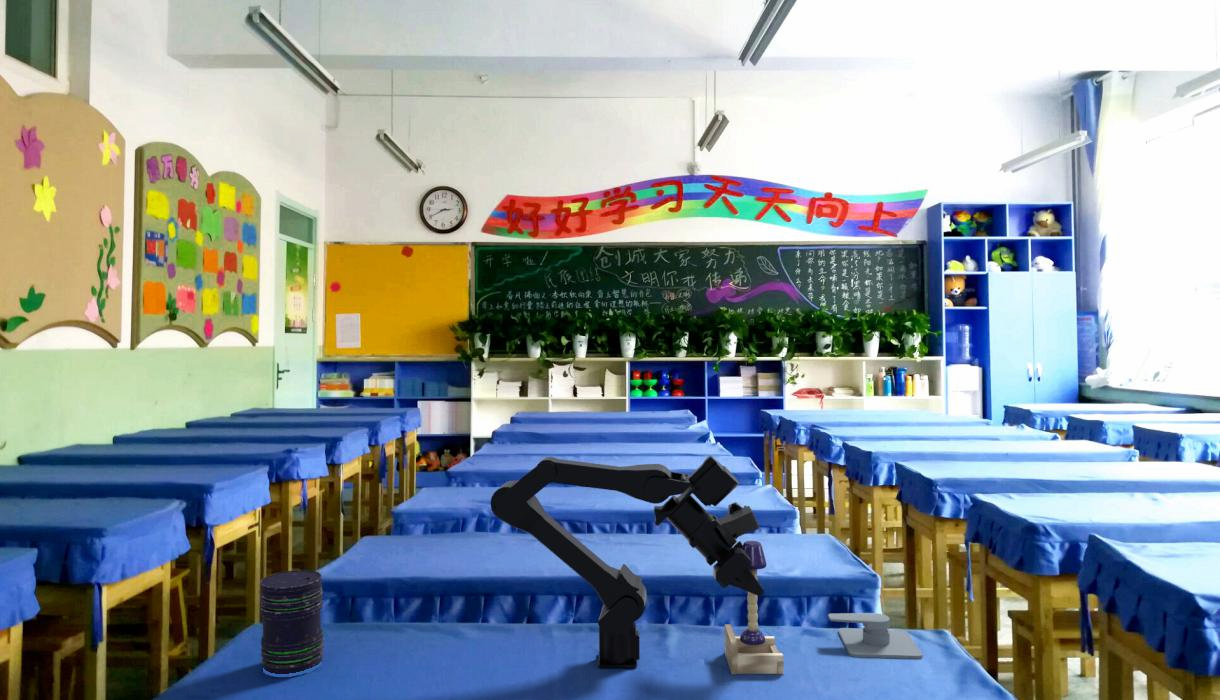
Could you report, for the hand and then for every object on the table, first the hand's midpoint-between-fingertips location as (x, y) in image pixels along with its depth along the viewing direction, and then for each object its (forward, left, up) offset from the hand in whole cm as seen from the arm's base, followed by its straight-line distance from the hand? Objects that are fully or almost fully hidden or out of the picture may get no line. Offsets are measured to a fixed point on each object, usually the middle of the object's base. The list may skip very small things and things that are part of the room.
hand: (760, 590), depth 141 cm
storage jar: (-79, -1, -13) cm, 80 cm away
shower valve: (+21, +9, -13) cm, 26 cm away
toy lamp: (-1, 0, -9) cm, 9 cm away
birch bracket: (-1, 0, -12) cm, 13 cm away
